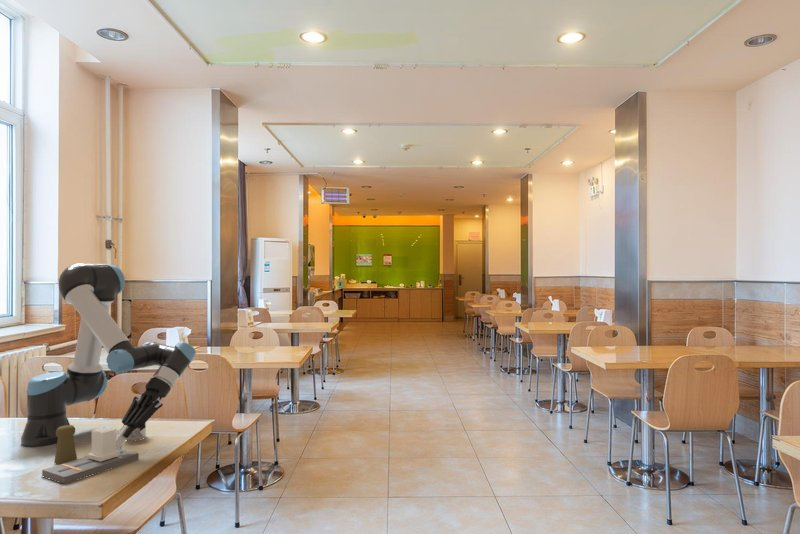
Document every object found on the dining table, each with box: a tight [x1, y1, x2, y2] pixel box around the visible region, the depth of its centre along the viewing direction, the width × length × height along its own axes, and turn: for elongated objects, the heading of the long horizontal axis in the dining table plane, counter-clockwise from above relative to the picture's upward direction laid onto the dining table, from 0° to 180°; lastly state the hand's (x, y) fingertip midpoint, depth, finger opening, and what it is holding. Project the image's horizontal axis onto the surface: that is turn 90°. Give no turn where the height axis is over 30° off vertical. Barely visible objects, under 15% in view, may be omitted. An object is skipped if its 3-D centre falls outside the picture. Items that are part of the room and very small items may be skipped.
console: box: [41, 448, 140, 485], centre depth 156 cm, size 22×12×2 cm, turn 150°
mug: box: [126, 422, 147, 442], centre depth 187 cm, size 10×7×7 cm
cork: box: [53, 424, 78, 465], centre depth 163 cm, size 6×6×11 cm
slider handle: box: [86, 426, 120, 462], centre depth 159 cm, size 6×7×8 cm
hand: (115, 446), depth 162 cm, fingers closed
